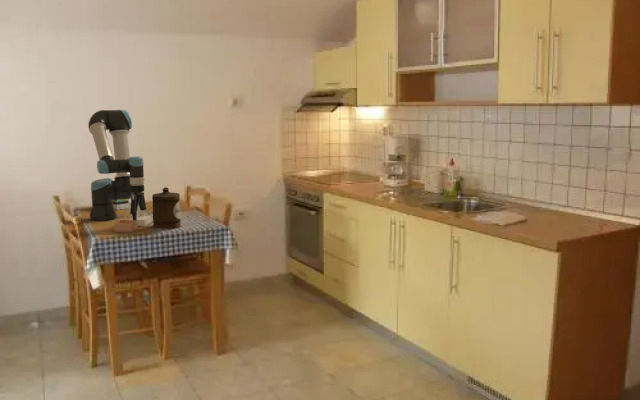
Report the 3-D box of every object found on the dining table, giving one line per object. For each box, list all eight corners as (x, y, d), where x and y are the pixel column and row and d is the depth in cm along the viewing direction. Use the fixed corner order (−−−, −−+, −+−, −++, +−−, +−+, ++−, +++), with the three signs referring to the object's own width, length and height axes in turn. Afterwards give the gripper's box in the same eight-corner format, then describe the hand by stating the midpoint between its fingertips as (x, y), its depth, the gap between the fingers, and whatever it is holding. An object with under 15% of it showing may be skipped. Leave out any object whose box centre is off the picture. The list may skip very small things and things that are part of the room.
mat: (124, 227, 330) (124, 226, 330) (132, 222, 342) (132, 222, 342) (145, 227, 329) (145, 226, 329) (153, 223, 341) (153, 222, 341)
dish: (114, 232, 316) (114, 223, 315) (121, 229, 325) (121, 220, 324) (131, 233, 315) (131, 223, 314) (137, 229, 324) (137, 220, 323)
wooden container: (182, 228, 327) (181, 188, 324) (154, 230, 322) (152, 190, 319) (178, 223, 341) (177, 185, 337) (152, 225, 336) (150, 186, 332)
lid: (126, 225, 331) (126, 219, 330) (133, 221, 341) (133, 215, 341) (144, 226, 330) (144, 219, 330) (151, 222, 340) (151, 216, 340)
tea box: (129, 208, 389) (128, 185, 387) (117, 210, 381) (115, 187, 378) (114, 206, 397) (113, 184, 395) (101, 208, 389) (100, 185, 386)
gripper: (136, 187, 320) (138, 227, 324) (150, 181, 343) (152, 219, 347) (122, 187, 321) (124, 227, 325) (138, 181, 343) (139, 219, 347)
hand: (139, 223), depth 336 cm, fingers closed on lid, 10 cm apart
